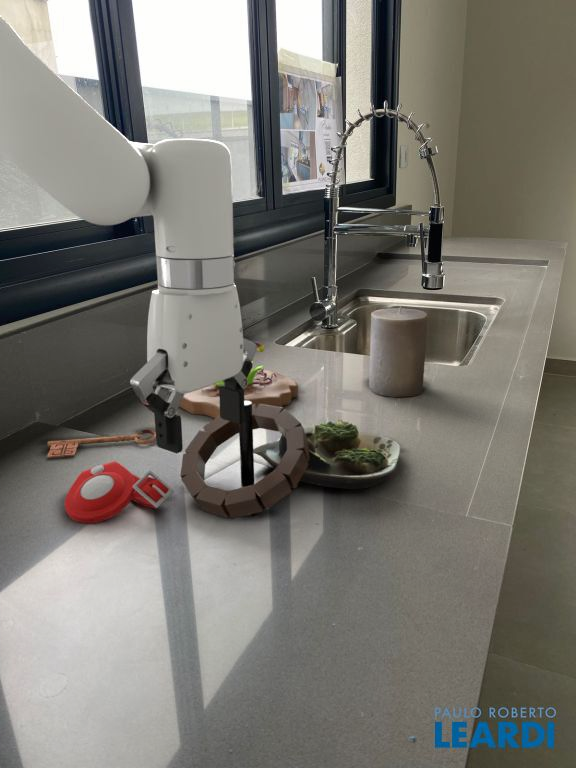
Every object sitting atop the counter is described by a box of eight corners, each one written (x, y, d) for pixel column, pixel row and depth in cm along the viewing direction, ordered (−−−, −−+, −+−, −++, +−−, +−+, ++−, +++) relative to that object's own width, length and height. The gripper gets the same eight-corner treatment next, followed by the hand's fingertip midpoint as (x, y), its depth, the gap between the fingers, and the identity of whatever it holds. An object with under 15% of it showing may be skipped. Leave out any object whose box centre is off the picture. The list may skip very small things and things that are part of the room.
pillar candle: (433, 388, 108) (439, 305, 103) (403, 402, 102) (408, 314, 97) (388, 376, 115) (392, 298, 110) (357, 389, 108) (359, 306, 103)
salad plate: (292, 425, 92) (293, 396, 91) (410, 443, 86) (413, 412, 85) (241, 472, 74) (242, 437, 73) (386, 498, 69) (389, 460, 67)
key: (43, 460, 82) (155, 451, 84) (42, 455, 82) (155, 445, 84) (51, 440, 87) (157, 432, 89) (50, 434, 87) (156, 426, 89)
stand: (195, 494, 72) (189, 406, 69) (243, 466, 79) (240, 385, 76) (253, 516, 67) (250, 423, 64) (299, 485, 74) (299, 399, 71)
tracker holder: (59, 524, 64) (60, 465, 72) (74, 551, 67) (73, 491, 75) (170, 486, 66) (159, 433, 74) (181, 514, 68) (169, 459, 76)
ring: (165, 500, 71) (157, 487, 70) (229, 410, 80) (222, 397, 79) (271, 531, 64) (264, 517, 62) (329, 427, 72) (324, 414, 71)
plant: (153, 397, 105) (147, 334, 101) (240, 373, 118) (238, 316, 114) (224, 429, 91) (221, 357, 88) (314, 397, 104) (314, 334, 100)
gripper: (225, 262, 68) (229, 404, 74) (99, 281, 55) (115, 452, 60) (278, 268, 64) (278, 418, 70) (156, 289, 51) (167, 473, 56)
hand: (202, 434), depth 65 cm, fingers open, 9 cm apart
